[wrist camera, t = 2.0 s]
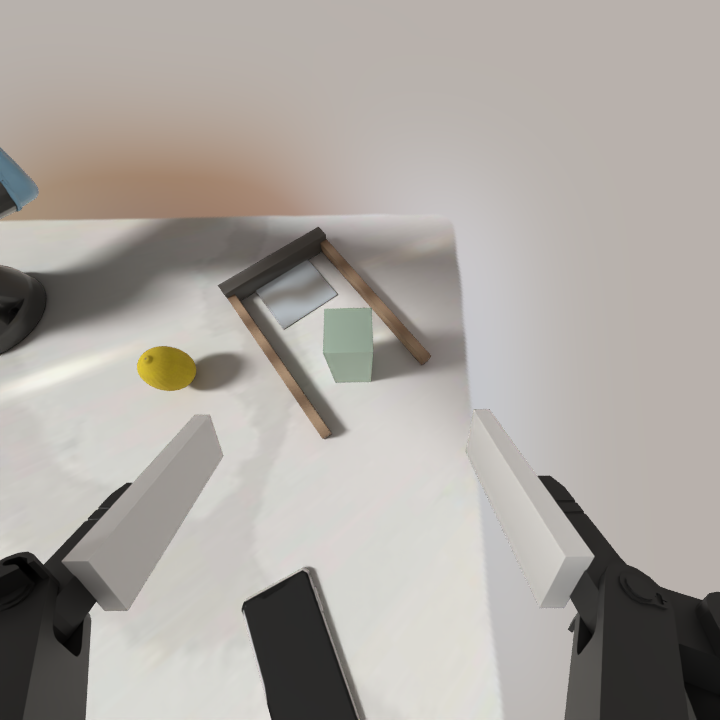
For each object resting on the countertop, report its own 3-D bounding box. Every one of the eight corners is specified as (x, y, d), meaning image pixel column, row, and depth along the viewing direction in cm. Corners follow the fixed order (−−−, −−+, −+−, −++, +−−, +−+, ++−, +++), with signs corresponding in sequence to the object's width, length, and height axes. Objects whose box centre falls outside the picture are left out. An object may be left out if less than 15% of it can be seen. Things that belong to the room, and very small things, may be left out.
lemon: (214, 367, 39) (178, 347, 32) (192, 402, 38) (149, 389, 30) (183, 353, 40) (141, 330, 32) (160, 386, 38) (110, 370, 31)
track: (227, 296, 43) (217, 285, 40) (321, 240, 46) (318, 226, 44) (324, 439, 36) (321, 438, 33) (428, 360, 39) (432, 353, 36)
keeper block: (335, 382, 38) (323, 353, 27) (335, 349, 40) (324, 308, 28) (370, 381, 38) (373, 352, 27) (369, 349, 40) (371, 307, 28)
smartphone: (287, 784, 25) (238, 605, 29) (290, 770, 26) (243, 599, 31) (364, 734, 26) (306, 567, 30) (364, 722, 27) (309, 563, 32)
